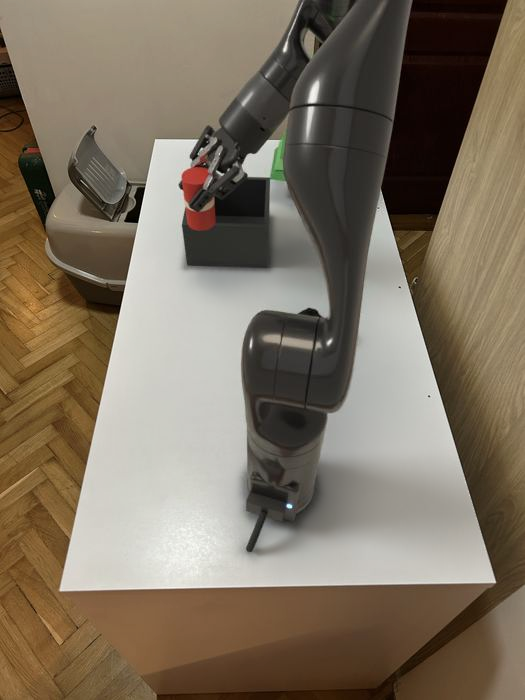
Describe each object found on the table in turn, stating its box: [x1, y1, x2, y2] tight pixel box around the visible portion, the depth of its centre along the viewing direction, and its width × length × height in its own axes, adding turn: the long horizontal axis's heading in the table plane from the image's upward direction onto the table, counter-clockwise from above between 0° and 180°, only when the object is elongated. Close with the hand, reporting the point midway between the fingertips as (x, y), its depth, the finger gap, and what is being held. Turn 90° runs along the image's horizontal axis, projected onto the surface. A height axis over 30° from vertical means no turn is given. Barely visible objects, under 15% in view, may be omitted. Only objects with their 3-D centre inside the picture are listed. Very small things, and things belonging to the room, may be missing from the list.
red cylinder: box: [181, 167, 216, 231], centre depth 87 cm, size 5×5×9 cm
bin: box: [181, 176, 271, 269], centre depth 104 cm, size 16×16×10 cm
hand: (188, 198), depth 86 cm, fingers closed on red cylinder, 4 cm apart
